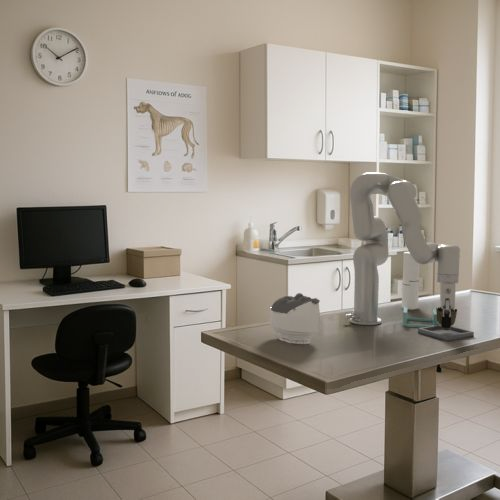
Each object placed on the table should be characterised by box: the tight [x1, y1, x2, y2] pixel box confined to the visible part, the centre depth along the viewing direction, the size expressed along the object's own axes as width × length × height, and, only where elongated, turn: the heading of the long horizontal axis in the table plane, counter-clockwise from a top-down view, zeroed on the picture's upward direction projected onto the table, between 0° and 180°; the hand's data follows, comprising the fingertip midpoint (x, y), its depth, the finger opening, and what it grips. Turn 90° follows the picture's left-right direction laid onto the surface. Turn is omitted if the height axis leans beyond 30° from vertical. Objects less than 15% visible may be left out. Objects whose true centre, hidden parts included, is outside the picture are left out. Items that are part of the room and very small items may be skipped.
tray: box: [417, 324, 475, 342], centre depth 228 cm, size 14×14×2 cm
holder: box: [402, 307, 438, 328], centre depth 244 cm, size 12×13×6 cm
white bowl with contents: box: [269, 292, 321, 345], centre depth 217 cm, size 13×17×20 cm
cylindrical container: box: [401, 251, 421, 310], centre depth 274 cm, size 7×7×25 cm
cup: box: [435, 306, 458, 330], centre depth 227 cm, size 8×7×8 cm
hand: (445, 325), depth 227 cm, fingers closed on cup, 7 cm apart
